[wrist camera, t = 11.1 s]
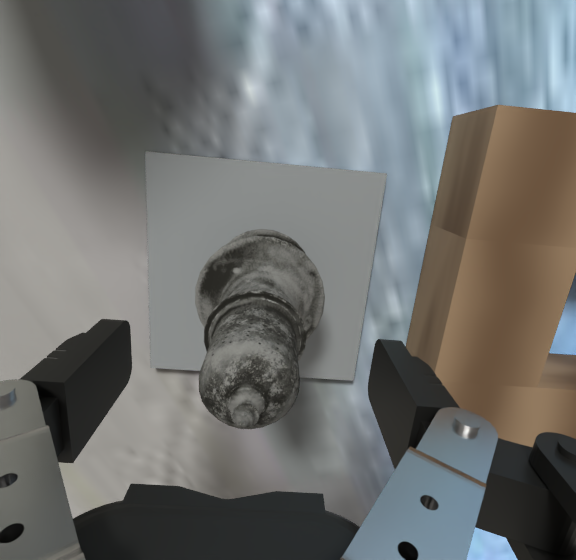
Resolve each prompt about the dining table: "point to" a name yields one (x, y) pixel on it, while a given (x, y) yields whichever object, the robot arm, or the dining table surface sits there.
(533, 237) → the pocket holder
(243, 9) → the dining table surface
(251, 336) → the grey stone ornament
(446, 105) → the dining table surface
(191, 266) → the grey mat
